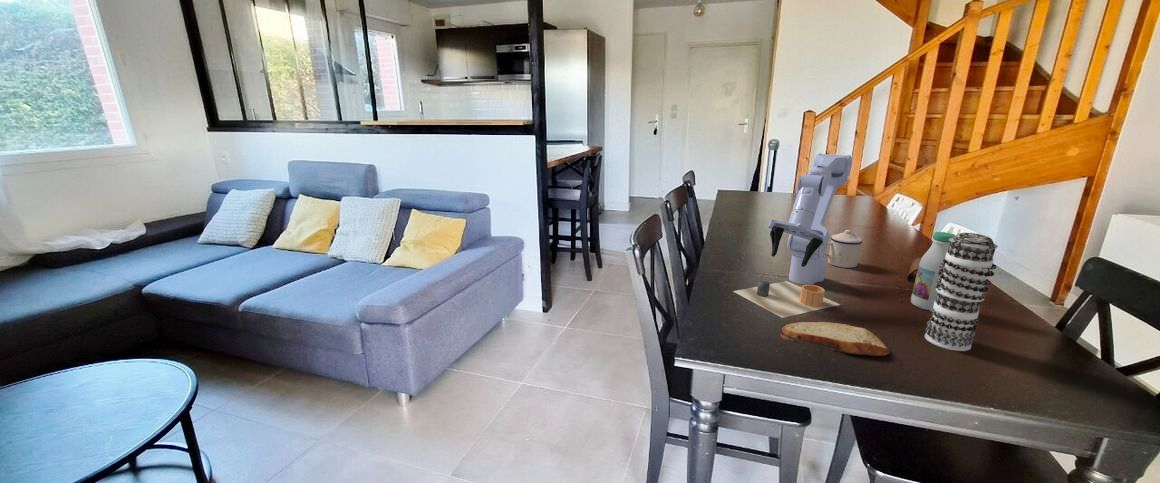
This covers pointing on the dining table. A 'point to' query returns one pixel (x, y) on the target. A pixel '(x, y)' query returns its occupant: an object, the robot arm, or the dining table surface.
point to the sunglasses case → (913, 270)
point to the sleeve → (812, 295)
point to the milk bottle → (930, 271)
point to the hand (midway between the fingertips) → (788, 260)
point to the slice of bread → (837, 337)
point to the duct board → (780, 298)
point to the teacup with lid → (844, 250)
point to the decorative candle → (960, 291)
